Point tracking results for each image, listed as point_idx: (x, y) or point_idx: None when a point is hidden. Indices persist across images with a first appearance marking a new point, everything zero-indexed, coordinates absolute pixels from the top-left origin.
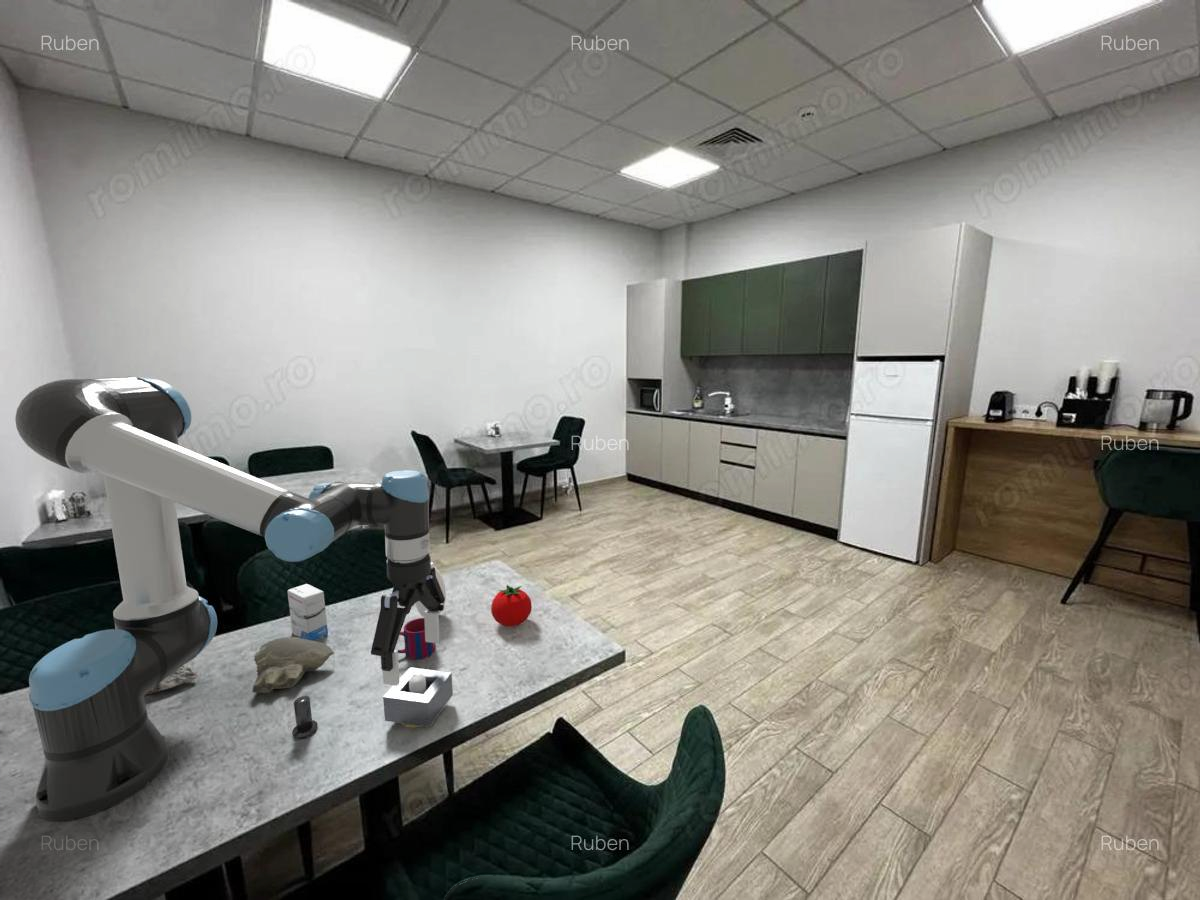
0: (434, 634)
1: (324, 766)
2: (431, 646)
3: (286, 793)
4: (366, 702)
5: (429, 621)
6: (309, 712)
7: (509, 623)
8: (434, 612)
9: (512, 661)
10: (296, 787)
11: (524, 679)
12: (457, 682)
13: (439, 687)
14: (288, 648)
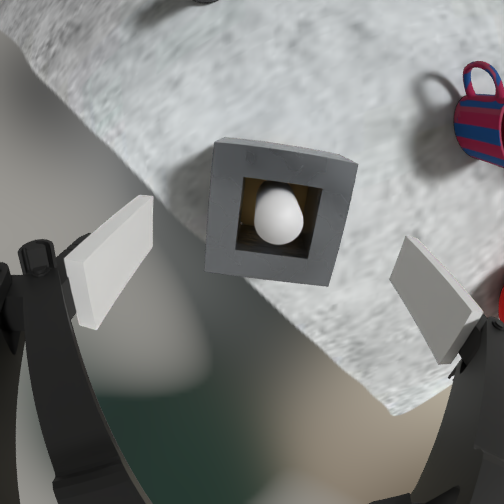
0: (405, 289)
1: (123, 79)
2: (479, 157)
3: (75, 65)
4: (307, 54)
5: (437, 306)
6: None
7: (501, 300)
8: (452, 352)
9: None
10: (84, 70)
11: (365, 346)
12: (376, 237)
13: (265, 278)
14: None
